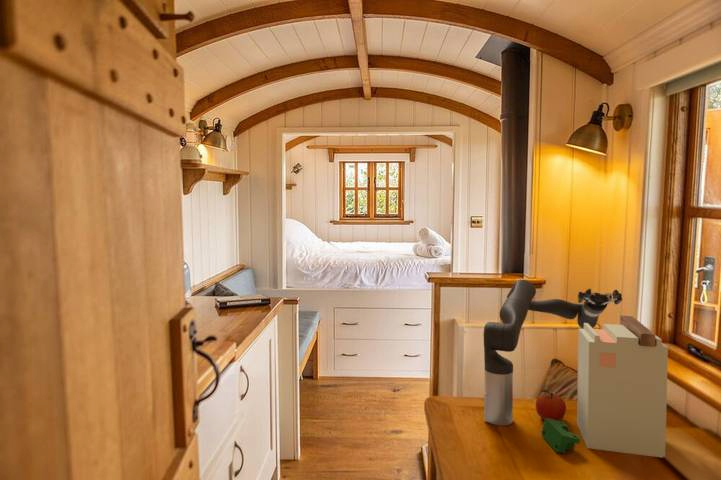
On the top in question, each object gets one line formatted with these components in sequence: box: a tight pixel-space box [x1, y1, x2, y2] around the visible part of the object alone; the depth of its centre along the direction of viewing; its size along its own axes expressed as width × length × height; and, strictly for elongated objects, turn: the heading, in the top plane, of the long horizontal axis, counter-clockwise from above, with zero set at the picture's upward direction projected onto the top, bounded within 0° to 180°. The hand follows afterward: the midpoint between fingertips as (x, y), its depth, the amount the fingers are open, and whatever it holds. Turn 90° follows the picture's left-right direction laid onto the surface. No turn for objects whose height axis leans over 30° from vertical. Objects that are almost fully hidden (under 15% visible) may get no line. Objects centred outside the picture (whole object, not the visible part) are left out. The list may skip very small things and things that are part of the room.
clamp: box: [541, 418, 581, 454], centre depth 131 cm, size 12×6×9 cm, turn 175°
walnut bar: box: [619, 315, 656, 347], centre depth 134 cm, size 4×24×4 cm, turn 161°
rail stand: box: [576, 323, 669, 459], centre depth 133 cm, size 20×16×34 cm
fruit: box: [535, 389, 567, 421], centre depth 148 cm, size 10×10×10 cm
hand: (603, 291), depth 158 cm, fingers open, 8 cm apart
